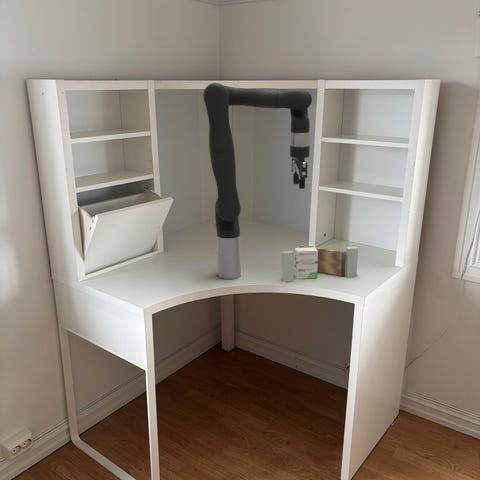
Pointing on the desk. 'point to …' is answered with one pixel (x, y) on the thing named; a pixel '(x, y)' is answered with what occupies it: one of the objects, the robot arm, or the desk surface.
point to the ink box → (306, 263)
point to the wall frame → (289, 263)
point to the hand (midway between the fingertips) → (298, 186)
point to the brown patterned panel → (330, 261)
